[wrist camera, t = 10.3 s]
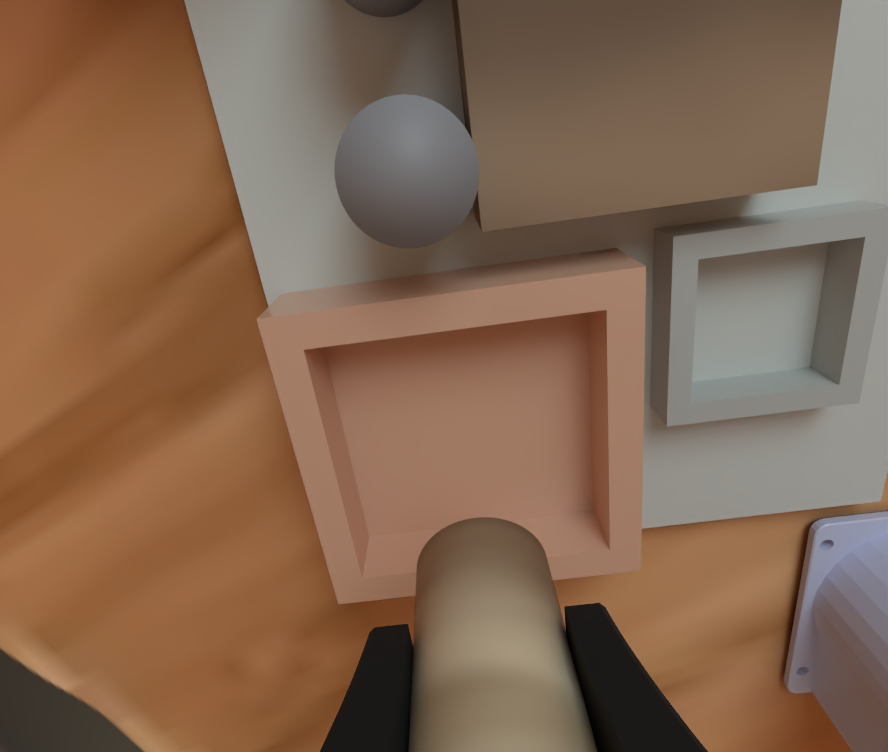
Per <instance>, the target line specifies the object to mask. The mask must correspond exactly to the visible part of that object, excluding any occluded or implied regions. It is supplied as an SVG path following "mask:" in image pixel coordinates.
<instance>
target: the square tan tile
mask: <svg viewBox="0 0 888 752" xmlns="http://www.w3.org/2000/svg"><path fill="white" fill-rule="evenodd" d="M841 5H842V0H452V9H453V18H454V27H455V37H456V46H457V55H458V64H459V74H460V83H461V92H462V101H463V111H464V120H465V128H466V130H467V131H468V133H469V135H470V137H471V139H472V141H473V143H474V146H475V149H476V153H477V157H478V163H479V185H478V190H477V195H476V198H475V201H474V212H475V219H476V221H477V223H478V225H479V227H480V229H481V231H482V232H485V231H492V230H499V229H506V228H514V227H521V226H528V225H535V224H542V223H549V222H557V221H564V220H571V219H578V218H585V217H593V216H600V215H607V214H614V213H621V212H628V211H636V210H643V209H650V208H657V207H664V206H671V205H679V204H686V203H693V202H700V201H707V200H715V199H722V198H729V197H736V196H743V195H750V194H758V193H765V192H772V191H779V190H786V189H793V188H801V187H808V186H815V185H817V182H818V175H819V167H820V160H821V152H822V145H823V138H824V130H825V123H826V116H827V108H828V101H829V94H830V86H831V79H832V71H833V64H834V57H835V49H836V42H837V35H838V27H839V20H840V13H841Z"/></svg>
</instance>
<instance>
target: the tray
mask: <svg viewBox="0 0 888 752" xmlns="http://www.w3.org/2000/svg"><path fill="white" fill-rule="evenodd" d="M645 303H646V266H645V265H643V264H641V263H640V262H638V261H637V260H635V259H633V258H632V257H630V256H628V255H627V254H625V253H624V252H622V251H620V250H619V249H617V248H610V249H603V250H596V251H588V252H581V253H574V254H566V255H559V256H552V257H544V258H537V259H530V260H522V261H515V262H508V263H501V264H493V265H486V266H479V267H471V268H464V269H457V270H449V271H442V272H435V273H428V274H420V275H413V276H406V277H398V278H391V279H384V280H376V281H369V282H362V283H354V284H347V285H340V286H333V287H325V288H318V289H311V290H303V291H296V292H289V293H282V294H281V295H280V296H279V297H278V298H277V299H276V300H275V301H274V302H273V303H272V304H271V305H270V306H269V307H268V308H267V309H266V310H265V311H264V312H263V313H262V314H261V315H260V316H259V317H258V318H257V323H258V326H259V330H260V333H261V337H262V340H263V344H264V347H265V351H266V354H267V358H268V361H269V364H270V368H271V371H272V375H273V378H274V382H275V385H276V389H277V392H278V396H279V399H280V403H281V406H282V410H283V413H284V417H285V420H286V424H287V427H288V431H289V434H290V438H291V441H292V445H293V448H294V452H295V455H296V458H297V462H298V465H299V469H300V472H301V476H302V479H303V483H304V486H305V490H306V493H307V497H308V500H309V504H310V507H311V511H312V514H313V518H314V521H315V525H316V528H317V532H318V535H319V539H320V542H321V546H322V549H323V552H324V556H325V559H326V563H327V566H328V570H329V573H330V577H331V580H332V584H333V587H334V591H335V594H336V598H337V601H338V604H347V603H356V602H364V601H373V600H382V599H391V598H400V597H409V596H415V594H416V572H417V562H418V558H419V555H420V553H421V550H422V549H423V547H424V546H425V544H426V543H427V542H428V541H429V539H430V538H431V537H432V536H434V535H435V534H436V533H437V532H439V531H440V530H441V529H443V528H445V527H447V526H449V525H450V524H453V523H456V522H458V521H462V520H465V519H470V518H478V517H491V518H499V519H504V520H508V521H511V522H513V523H516V524H518V525H520V526H522V527H524V528H525V529H527V530H528V531H529V532H531V533H532V534H533V535H534V536H535V537H536V538H537V539H538V540H539V542H540V543H541V545H542V546H543V548H544V550H545V553H546V557H547V560H548V564H549V568H550V572H551V576H552V579H553V580H561V579H570V578H579V577H588V576H597V575H606V574H615V573H624V572H633V571H641V554H642V492H643V429H644V366H645Z"/></svg>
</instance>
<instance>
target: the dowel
mask: <svg viewBox="0 0 888 752" xmlns="http://www.w3.org/2000/svg"><path fill="white" fill-rule="evenodd" d="M408 752H598V751H597V747H596V743H595V739H594V735H593V732H592V728H591V724H590V720H589V716H588V713H587V709H586V705H585V701H584V698H583V694H582V690H581V687H580V683H579V679H578V676H577V672H576V668H575V664H574V660H573V657H572V653H571V649H570V645H569V641H568V637H567V634H566V629H565V625H564V621H563V617H562V614H561V610H560V606H559V602H558V598H557V595H556V591H555V587H554V583H553V579H552V576H551V572H550V568H549V564H548V560H547V557H546V553H545V550H544V548H543V546H542V545H541V543H540V542H539V540H538V539H537V538H536V537H535V536H534V535H533V534H532V533H531V532H529V531H528V530H527V529H525V528H524V527H522V526H520V525H518V524H516V523H513V522H511V521H508V520H504V519H499V518H491V517H478V518H470V519H465V520H462V521H458V522H456V523H453V524H450V525H449V526H447V527H445V528H443V529H441V530H440V531H439V532H437V533H436V534H435V535H434V536H432V537H431V538H430V539H429V541H428V542H427V543H426V544H425V546H424V547H423V549H422V550H421V553H420V555H419V558H418V562H417V572H416V594H415V617H414V639H413V664H412V686H411V708H410V729H409V751H408Z"/></svg>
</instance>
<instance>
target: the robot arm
mask: <svg viewBox="0 0 888 752" xmlns="http://www.w3.org/2000/svg"><path fill="white" fill-rule="evenodd" d="M823 541H824V542H823ZM565 623H566V634H567V637H568V641H569V645H570V649H571V653H572V657H573V660H574V664H575V668H576V672H577V676H578V679H579V683H580V687H581V690H582V694H583V698H584V701H585V705H586V709H587V713H588V716H589V720H590V724H591V728H592V732H593V735H594V739H595V743H596V747H597V751H598V752H708V751H707V750H706V749H705V748H704V746H703V745H702V744H701V743H700V741H699V740H698V739H697V738H696V736H695V735H694V734H693V733H692V731H691V730H690V729H689V728H688V726H687V725H686V724H685V722H684V721H683V720H682V718H681V717H680V716H679V715H678V713H677V712H676V711H675V709H674V708H673V707H672V705H671V704H670V703H669V701H668V700H667V699H666V697H665V696H664V695H663V694H662V692H661V691H660V690H659V688H658V687H657V685H656V684H655V683H654V681H653V680H652V679H651V677H650V676H649V674H648V673H647V671H646V670H645V669H644V667H643V666H642V664H641V663H640V661H639V660H638V659H637V657H636V656H635V654H634V653H633V651H632V650H631V648H630V647H629V645H628V644H627V642H626V641H625V639H624V638H623V636H622V634H621V633H620V631H619V630H618V628H617V626H616V625H615V623H614V622H613V620H612V618H611V617H610V615H609V613H608V611H607V609H606V608H605V607H604V606H603V605H601V604H600V603H594V604H585V605H576V606H567V607H565ZM412 664H413V645H412V641H411V636H410V632H409V627H408V624H403V625H393V626H384V627H375V628H374V629H373V630H372V631H371V632H370V633H369V636H368V639H367V642H366V645H365V647H364V650H363V653H362V656H361V658H360V661H359V664H358V666H357V669H356V671H355V674H354V676H353V679H352V681H351V684H350V686H349V688H348V691H347V693H346V695H345V698H344V700H343V702H342V705H341V707H340V709H339V712H338V714H337V716H336V718H335V720H334V722H333V725H332V727H331V729H330V731H329V733H328V735H327V738H326V740H325V742H324V744H323V746H322V748H321V751H320V752H408V751H409V729H410V708H411V686H412ZM784 685H785V686H786V688H787V689H788V690H789V692H791V693H795V694H799V693H809V692H812V693H813V695H814V696H815V698H816V699H817V701H818V702H819V704H820V705H821V707H822V708H823V710H824V711H825V713H826V714H827V716H828V717H829V719H830V720H831V722H832V723H833V725H834V726H835V728H836V729H837V730H838V732H839V733H840V735H841V736H842V738H843V739H844V741H845V742H846V744H847V745H848V747H849V748H850V750H851V751H852V752H888V511H885V512H876V513H867V514H858V515H850V516H841V517H832V518H824V519H820V520H818V521H816V522H814V523H813V524H812V526H811V528H810V530H809V535H808V541H807V547H806V553H805V559H804V564H803V570H802V576H801V582H800V588H799V593H798V599H797V605H796V611H795V617H794V622H793V628H792V634H791V640H790V646H789V651H788V657H787V663H786V669H785V675H784Z"/></svg>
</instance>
